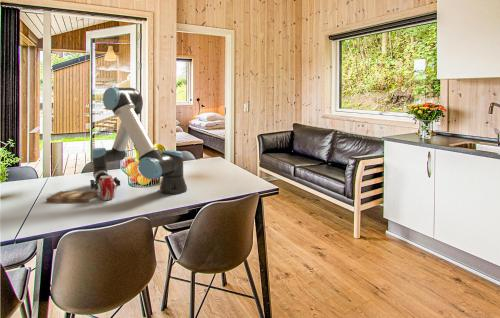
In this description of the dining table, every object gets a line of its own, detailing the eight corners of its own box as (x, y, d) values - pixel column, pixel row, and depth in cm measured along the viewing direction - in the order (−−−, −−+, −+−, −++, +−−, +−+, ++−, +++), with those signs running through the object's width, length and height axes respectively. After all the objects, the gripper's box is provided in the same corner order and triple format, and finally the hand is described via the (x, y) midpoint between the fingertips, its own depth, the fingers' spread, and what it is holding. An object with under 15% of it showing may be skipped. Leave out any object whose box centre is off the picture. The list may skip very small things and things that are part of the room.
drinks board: (97, 195, 188) (97, 190, 187) (86, 202, 175) (85, 197, 175) (60, 194, 188) (60, 190, 187) (46, 202, 175) (46, 197, 175)
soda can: (97, 199, 181) (95, 176, 179) (110, 196, 186) (108, 174, 184) (104, 201, 177) (103, 178, 174) (117, 198, 182) (116, 176, 180)
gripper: (121, 182, 201) (128, 192, 181) (83, 187, 192) (86, 198, 172) (120, 170, 200) (127, 178, 180) (82, 173, 190) (85, 183, 170)
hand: (107, 188), depth 176 cm, fingers closed on soda can, 7 cm apart
